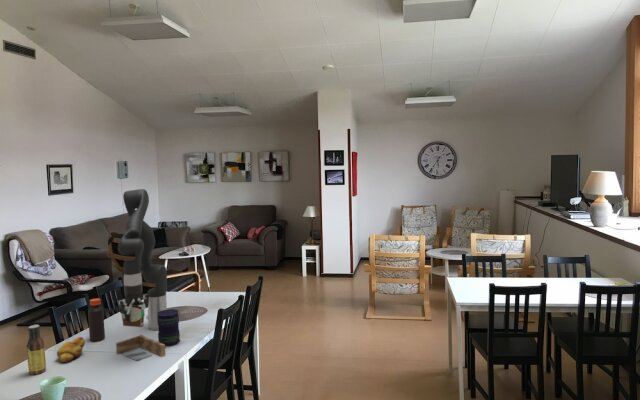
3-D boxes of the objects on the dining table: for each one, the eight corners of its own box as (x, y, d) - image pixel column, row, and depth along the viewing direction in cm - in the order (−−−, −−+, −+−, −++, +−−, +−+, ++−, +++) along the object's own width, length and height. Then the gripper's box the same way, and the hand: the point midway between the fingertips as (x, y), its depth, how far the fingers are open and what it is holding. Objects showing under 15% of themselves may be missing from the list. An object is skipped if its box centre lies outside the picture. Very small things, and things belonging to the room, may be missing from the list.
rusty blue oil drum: (184, 340, 228) (182, 310, 227) (171, 347, 219) (170, 316, 218) (167, 338, 231) (165, 308, 230) (153, 345, 222) (152, 314, 221)
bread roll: (72, 364, 203) (70, 346, 202) (50, 364, 203) (48, 346, 203) (87, 352, 216) (86, 335, 215) (66, 352, 216) (65, 335, 215)
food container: (152, 322, 212) (151, 301, 211) (143, 327, 206) (142, 305, 205) (129, 321, 216) (128, 299, 215) (120, 325, 210) (119, 303, 209)
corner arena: (116, 353, 213) (116, 342, 213) (141, 345, 223) (141, 334, 222) (139, 364, 201) (139, 353, 200) (165, 355, 210) (164, 344, 210)
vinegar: (108, 338, 233) (105, 298, 232) (96, 342, 227) (94, 302, 225) (98, 336, 236) (96, 297, 234) (86, 340, 230) (84, 300, 228)
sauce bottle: (33, 369, 198) (30, 323, 197) (49, 368, 199) (46, 322, 197) (25, 376, 192) (22, 328, 190) (41, 375, 192) (38, 328, 191)
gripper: (121, 287, 201) (123, 326, 202) (152, 281, 212) (154, 317, 213) (113, 285, 206) (115, 322, 207) (143, 278, 217) (145, 314, 218)
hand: (134, 319), depth 210 cm, fingers closed on food container, 6 cm apart
